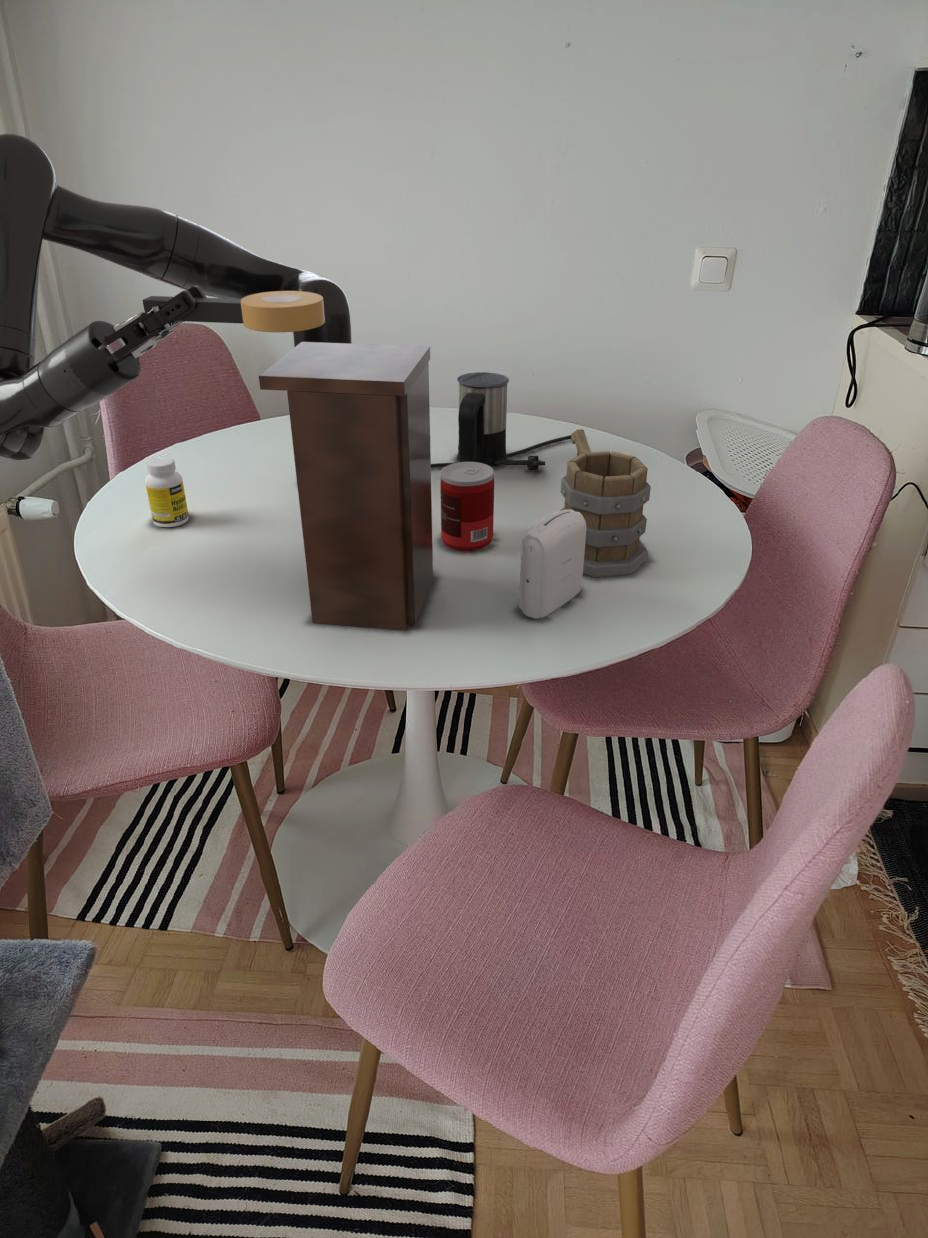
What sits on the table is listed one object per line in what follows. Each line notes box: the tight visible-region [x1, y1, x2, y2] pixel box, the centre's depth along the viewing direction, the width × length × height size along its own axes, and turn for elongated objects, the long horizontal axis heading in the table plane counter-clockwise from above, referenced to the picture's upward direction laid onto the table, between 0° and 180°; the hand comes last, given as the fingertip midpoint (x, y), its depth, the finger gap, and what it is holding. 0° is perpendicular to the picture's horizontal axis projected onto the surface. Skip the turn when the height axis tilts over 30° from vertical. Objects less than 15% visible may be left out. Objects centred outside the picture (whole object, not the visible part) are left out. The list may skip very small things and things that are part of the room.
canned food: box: [439, 461, 496, 553], centre depth 124 cm, size 8×8×11 cm
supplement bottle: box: [144, 456, 190, 528], centre depth 131 cm, size 5×5×10 cm
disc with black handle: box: [142, 291, 325, 333], centre depth 96 cm, size 20×9×3 cm, turn 82°
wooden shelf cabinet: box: [258, 342, 434, 631], centre depth 105 cm, size 16×15×31 cm
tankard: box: [559, 428, 652, 578], centre depth 122 cm, size 20×13×15 cm, turn 9°
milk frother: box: [456, 371, 547, 471], centre depth 149 cm, size 14×16×15 cm
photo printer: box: [518, 510, 586, 620], centre depth 109 cm, size 10×4×12 cm, turn 140°
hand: (196, 295), depth 96 cm, fingers closed on disc with black handle, 2 cm apart
